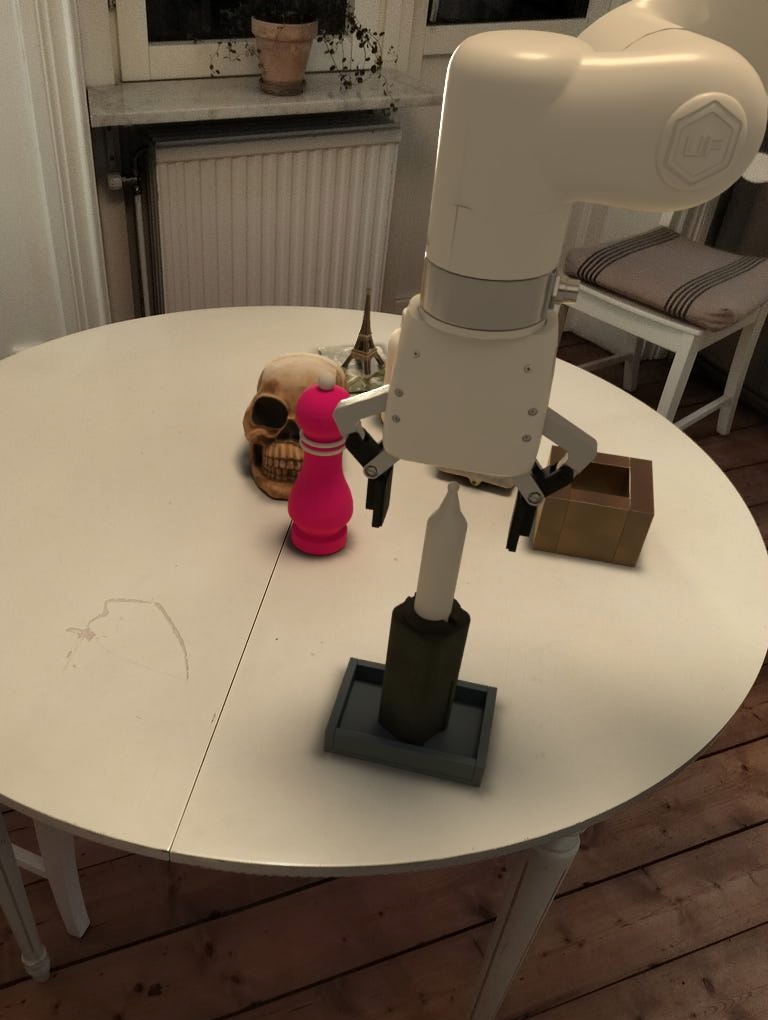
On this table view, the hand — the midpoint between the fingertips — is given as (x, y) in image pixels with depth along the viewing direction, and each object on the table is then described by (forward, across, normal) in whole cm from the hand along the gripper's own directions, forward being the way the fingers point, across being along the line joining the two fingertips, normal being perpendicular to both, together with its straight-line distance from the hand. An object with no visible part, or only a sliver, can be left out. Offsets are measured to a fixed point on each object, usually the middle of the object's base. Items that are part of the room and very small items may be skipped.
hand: (445, 528), depth 62 cm
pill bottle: (+22, +10, -55) cm, 60 cm away
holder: (+22, -14, -36) cm, 44 cm away
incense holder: (+22, -1, -45) cm, 50 cm away
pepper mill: (+22, +15, -25) cm, 36 cm away
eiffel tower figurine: (+22, +20, -68) cm, 74 cm away
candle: (+21, 0, 0) cm, 21 cm away
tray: (+22, 0, 0) cm, 22 cm away
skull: (+22, +22, -41) cm, 51 cm away
